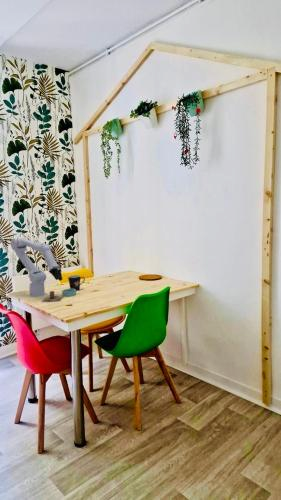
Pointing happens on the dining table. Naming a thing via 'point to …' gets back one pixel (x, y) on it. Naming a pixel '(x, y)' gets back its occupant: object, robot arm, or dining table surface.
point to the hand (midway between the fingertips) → (59, 279)
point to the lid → (52, 297)
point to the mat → (55, 301)
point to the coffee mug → (75, 282)
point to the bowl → (68, 292)
